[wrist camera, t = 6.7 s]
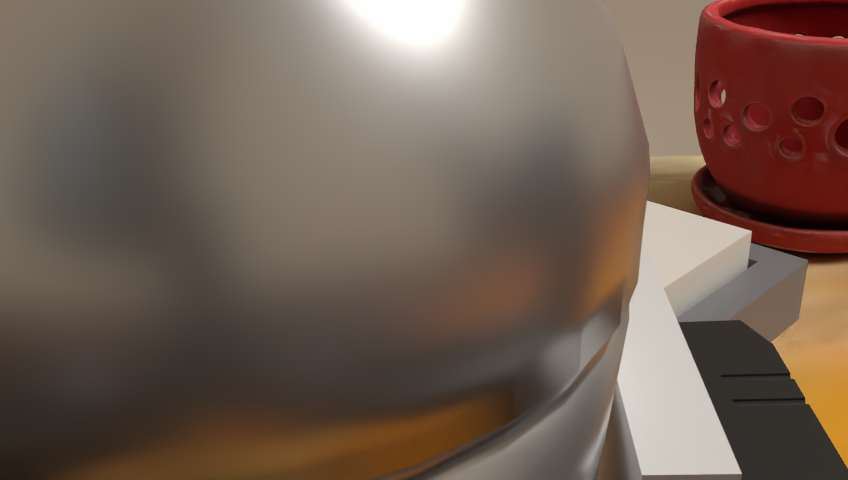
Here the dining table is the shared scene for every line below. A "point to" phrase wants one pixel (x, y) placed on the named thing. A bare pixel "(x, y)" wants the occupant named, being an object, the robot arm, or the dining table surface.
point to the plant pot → (774, 121)
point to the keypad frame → (758, 294)
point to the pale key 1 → (693, 253)
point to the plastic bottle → (314, 238)
